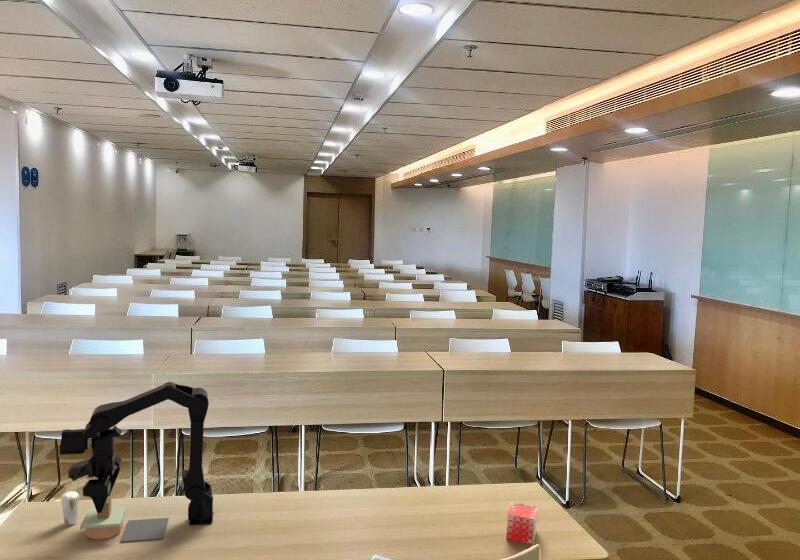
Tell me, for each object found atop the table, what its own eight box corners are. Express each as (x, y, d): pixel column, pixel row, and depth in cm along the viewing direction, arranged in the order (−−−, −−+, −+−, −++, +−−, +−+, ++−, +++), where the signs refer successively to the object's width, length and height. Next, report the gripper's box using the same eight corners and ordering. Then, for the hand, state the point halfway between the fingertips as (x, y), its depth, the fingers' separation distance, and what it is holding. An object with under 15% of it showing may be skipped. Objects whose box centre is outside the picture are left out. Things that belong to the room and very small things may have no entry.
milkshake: (74, 528, 173) (73, 495, 172) (58, 525, 174) (57, 492, 173) (85, 520, 178) (85, 488, 176) (69, 517, 179) (69, 485, 177)
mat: (168, 519, 181) (168, 517, 181) (163, 539, 170) (163, 538, 170) (128, 521, 178) (128, 520, 178) (120, 542, 168) (120, 541, 167)
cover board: (127, 508, 178) (126, 491, 177) (119, 526, 168) (119, 508, 168) (89, 510, 176) (89, 493, 175) (80, 528, 166) (79, 511, 165)
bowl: (124, 522, 178) (124, 509, 177) (118, 538, 169) (118, 525, 169) (91, 524, 176) (91, 511, 175) (83, 541, 167) (82, 527, 167)
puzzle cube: (533, 545, 177) (535, 519, 176) (506, 539, 179) (507, 513, 178) (536, 531, 184) (538, 506, 183) (510, 525, 187) (511, 501, 186)
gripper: (80, 439, 176) (81, 490, 178) (60, 467, 158) (61, 523, 160) (122, 438, 179) (122, 488, 181) (107, 465, 161) (107, 520, 163)
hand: (103, 504), depth 171 cm, fingers open, 9 cm apart
